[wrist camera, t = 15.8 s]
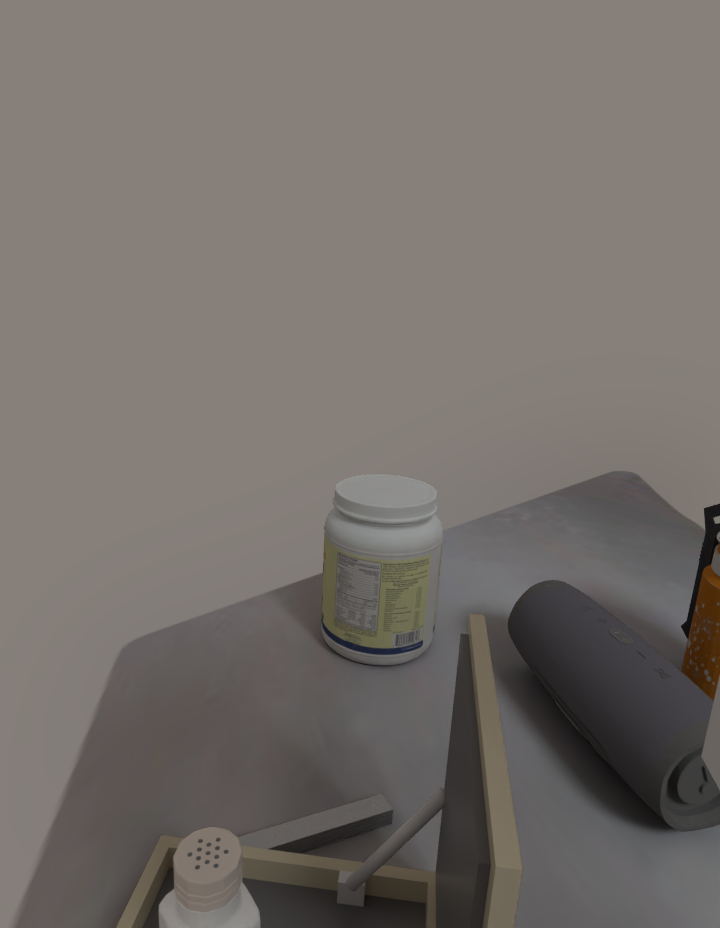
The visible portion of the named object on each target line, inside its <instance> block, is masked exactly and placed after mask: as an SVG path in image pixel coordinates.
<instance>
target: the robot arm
mask: <svg viewBox="0 0 720 928" xmlns="http://www.w3.org/2000/svg"><path fill="white" fill-rule="evenodd" d="M701 757H702V759H703V761H704V762H705V764H706V766H707V768H708V770H709V771H710V773H711V775H712V777H713V779H714V781H715V782H716V784H717V786H718V788H719V790H720V676H719V680H718V685H717V689H716V694H715V698H714V703H713V707H712V711H711V716H710V720H709V725H708V729H707V733H706V738H705V742H704V747H703V751H702V755H701Z"/></svg>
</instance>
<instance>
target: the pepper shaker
mask: <svg viewBox="0 0 720 928" xmlns="http://www.w3.org/2000/svg"><path fill="white" fill-rule="evenodd" d="M173 867H174V889H173V890H172V891H171V892H169V893H168V894H166V896H165V897H164V898H163V900H162V901H161V903H160V904H159V928H260V913H259V909H258V908H257V906H256V904H255V902H254V900H253V898H252V896H251V895H250V893H249V891H248V890H247V888H246V887H245V885H244V884H243V882H242V849H241V845H240V842H239V838H238V837H237V836H235V835H234V834H233V833H231V832H230V831H229V830H227V829H224V828H217V827H207V828H204V829H200V830H197V831H194V832H192V833H191V834H190V835H189V836H187V837H186V838H185V839H183V840H182V841H181V842H180V844H179V846H178V848H177V850H176V852H175V854H174V856H173Z"/></svg>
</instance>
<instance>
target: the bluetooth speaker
mask: <svg viewBox="0 0 720 928" xmlns="http://www.w3.org/2000/svg"><path fill="white" fill-rule="evenodd" d="M508 631H509V634H510V637H511V639H512V641H513V643H514V644H515V646H516V648H517V650H518V651H519V653H520V654H521V656H522V657H523V659H524V660H525V661H526V663H527V664H528V665H529V667H530V668H531V669H532V671H533V672H534V673H535V675H536V677H537V678H538V679H539V680H540V682H541V683H542V684H543V686H544V687H545V688H546V690H547V691H548V692H549V693H550V695H551V696H552V697H553V699H554V701H555V702H556V704H557V706H558V707H559V708H560V709H561V711H562V712H563V713H564V715H565V716H566V717H567V718H568V720H569V721H570V722H571V723H572V724H573V726H574V727H575V728H576V729H577V730H578V731H579V733H580V734H581V735H582V736H583V737H584V738H585V739H586V740H587V741H588V742H589V743H590V744H591V746H592V747H593V748H594V749H595V750H596V752H597V753H598V754H599V755H600V756H601V758H602V759H603V760H604V761H605V762H606V763H607V764H608V765H609V766H610V767H611V768H612V769H613V770H614V771H615V772H616V773H618V774H619V775H620V776H621V777H622V778H623V779H624V780H625V782H626V783H627V784H628V785H629V786H630V787H631V788H632V789H633V790H634V791H635V793H636V794H637V795H638V796H639V797H640V798H641V799H642V800H643V801H644V802H645V803H646V804H647V805H648V806H649V807H650V808H651V809H652V810H653V811H654V812H655V813H656V814H657V815H659V816H660V817H661V818H662V819H663V820H664V821H665V822H666V823H668V824H669V825H670V826H671V827H672V828H674V829H676V830H679V831H693V830H699V829H704V828H708V827H713V826H716V825H719V824H720V790H719V788H718V786H717V784H716V782H715V781H714V779H713V777H712V775H711V773H710V771H709V770H708V768H707V766H706V764H705V762H704V761H703V759H702V757H701V755H702V751H703V747H704V742H705V738H706V733H707V729H708V725H709V720H710V716H711V711H712V707H713V703H714V701H713V700H712V699H711V698H710V697H709V696H708V695H706V694H705V693H704V692H703V691H702V690H701V689H700V688H699V687H698V686H697V685H696V684H694V683H693V682H692V681H691V680H690V679H689V678H688V677H687V676H686V675H685V674H683V673H682V672H681V671H680V670H679V669H678V668H676V667H675V666H674V665H673V664H672V663H671V662H670V661H668V660H667V659H666V658H665V657H664V656H663V655H661V654H660V653H659V652H658V651H657V650H656V649H654V648H653V647H652V646H651V645H650V644H648V643H647V642H646V641H645V640H644V639H642V638H641V637H640V636H639V635H638V634H636V633H635V632H634V631H632V630H631V629H630V628H629V627H627V626H626V625H625V624H624V623H622V622H621V621H620V620H619V619H617V618H616V617H615V616H613V615H612V614H611V613H610V612H608V611H607V610H606V609H604V608H603V607H602V606H600V605H599V604H598V603H596V602H595V601H594V600H592V599H591V598H590V597H588V596H587V595H585V594H584V593H582V592H581V591H579V590H577V589H576V588H574V587H572V586H571V585H569V584H567V583H565V582H562V581H556V580H549V581H544V582H540V583H538V584H535V585H533V586H532V587H530V588H529V589H528V590H527V591H526V592H525V593H524V594H523V595H522V596H521V597H520V598H519V600H518V601H517V602H516V604H515V605H514V607H513V609H512V612H511V614H510V617H509V620H508Z"/></svg>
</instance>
